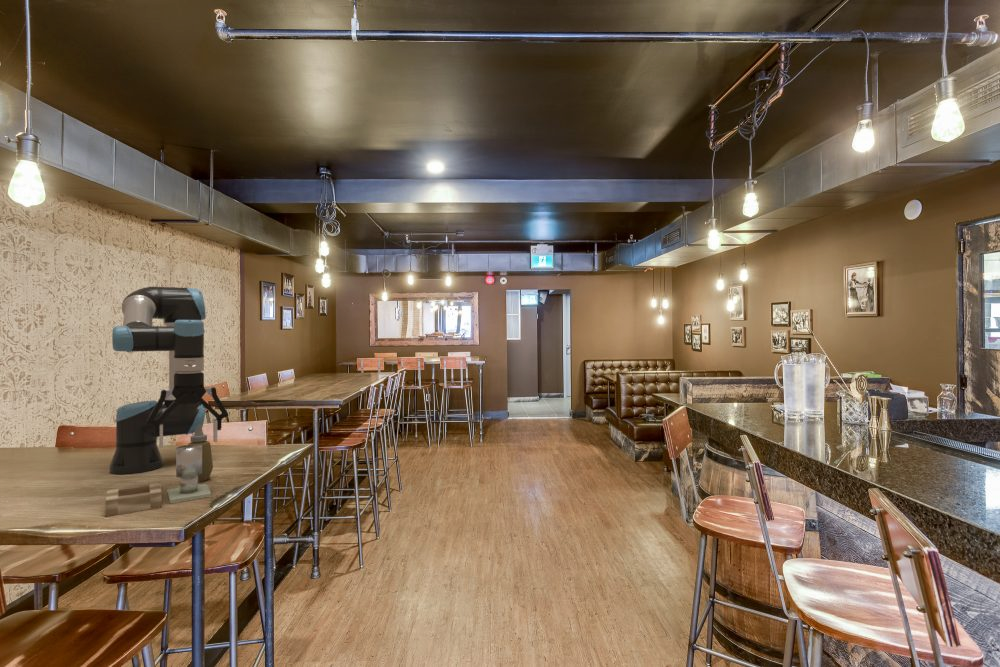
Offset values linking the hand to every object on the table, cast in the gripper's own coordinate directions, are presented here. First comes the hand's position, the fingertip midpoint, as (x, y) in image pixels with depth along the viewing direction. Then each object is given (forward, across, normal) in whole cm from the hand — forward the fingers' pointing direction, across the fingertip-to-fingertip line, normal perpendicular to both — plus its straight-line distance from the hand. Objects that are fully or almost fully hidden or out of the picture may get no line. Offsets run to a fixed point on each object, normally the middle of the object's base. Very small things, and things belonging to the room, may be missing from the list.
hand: (188, 444), depth 148 cm
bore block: (+15, -13, -3) cm, 20 cm away
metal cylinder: (+14, 0, -1) cm, 14 cm away
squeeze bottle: (+15, +4, +15) cm, 22 cm away
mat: (+15, 0, -1) cm, 15 cm away
